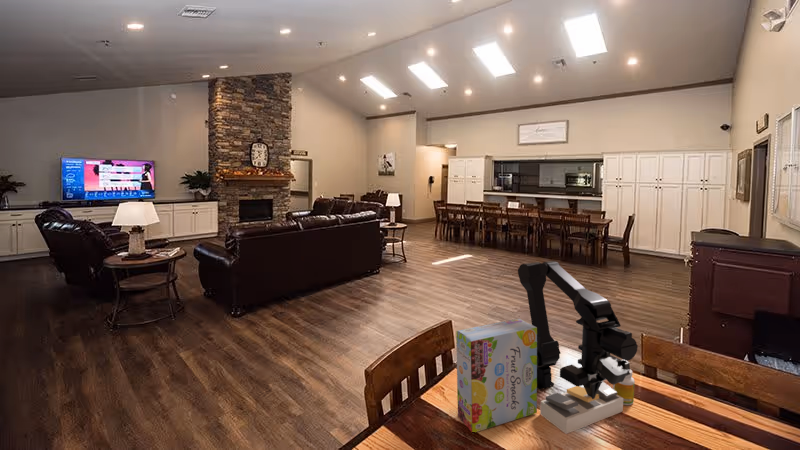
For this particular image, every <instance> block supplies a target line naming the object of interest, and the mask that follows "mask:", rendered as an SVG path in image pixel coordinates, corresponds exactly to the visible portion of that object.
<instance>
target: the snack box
mask: <svg viewBox="0 0 800 450" xmlns="http://www.w3.org/2000/svg"><path fill="white" fill-rule="evenodd" d="M455 333H456V334H455V335H456V337H455V338H456V375H457V376H456V382H457V383H456V384H457V389H456V390H457V393H456V394H457V418H459V419H460V421H461V422H462V423H463V424H464V425H465V427H467V428H468V430H469V431H470V432H471V433H472V432H475V433H477V431H478V432H480V430H481V431H484V430H487V429H490V428H492V427H496V426H500V425H502V424H506V423H508V422H509V423H510V422H512V421H515V420H518V419H522V418H525V417H528V416H531V415H535V414H538V392H537V391H538V388H537V327H535V326H533V325H532V323H528V322H527V321H526V320H525V321H524V320H523V319H521V318H516V319H511V320H506V321H504V320H503V321H499V322H496V323H489V324H485V325H479V326H474V327H470V328H465V329H464V328H463V329H460V330H456V331H455Z"/></svg>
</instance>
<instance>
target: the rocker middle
mask: <svg viewBox="0 0 800 450" xmlns="http://www.w3.org/2000/svg"><path fill="white" fill-rule="evenodd" d="M582 387H583V386H575V385H574V386H572V387H569V388H567V389H566V392H567V393H568V394H571V395H573V396H575V397H577V398H579V399H581V400H584V401H586V402H590V401H593V400H596V399H599V395H598V394H596V396H595V398H594V399H592V397H590V396H588V395H587V392H586V390H585V389H584V388H582Z"/></svg>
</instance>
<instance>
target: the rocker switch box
mask: <svg viewBox="0 0 800 450" xmlns="http://www.w3.org/2000/svg"><path fill="white" fill-rule="evenodd" d="M581 387H582V388H584V386H581ZM584 389H585V388H584ZM560 394H561V395H564V396H566V397H568V398H570V399H573V400H575V401H577V402H578V406H576V407H573V408H570V409H567V410H565V409H563V408H561V407H559V406H557V405H555V404H553V403H551V402H549V401H547V400H546V399H543V400H540V409H539V410H540V411H539V414H540V415H541V416H542V417H543V418H545V420H547V421H548V422H550V423H551V424H553V425H554V426H555V427H556V428H558V429H559V430H560V431H561V432H563V433H564V434H566V435H568V434H569V433H572V432H574V431H577V430H580V429H581V428H584V427H588V426H590V425H592V424H595V423H597V422H600V421H601V420H602V421H603V420H604V419H607V418H610V417H612V416H615V415H617V414H620V413H622V412H623V409H624V405H623V398H622V397H620V396H618V395H615V396H613V397H610V398H607V399H606V398H604V397H603V396H602V395H600V394H599V393H598V392H597V394H598V395H599V399H596V400H593V401H590V402H586V401H584V400H581V399H579V398H577V397H575V396H573V395H571V394H568V393H567V391H566V392H564V393H560Z"/></svg>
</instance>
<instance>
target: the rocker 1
mask: <svg viewBox="0 0 800 450" xmlns="http://www.w3.org/2000/svg"><path fill="white" fill-rule="evenodd" d="M561 394H562V393H558V392H555V393H552V394H549V395H547V396H545V400H547V401H549V402H551V403H553V404H555V405H557V406H559V407H561V408H563V409H565V410H567V409H570V408H573V407H576V406H578V402H577V401H575V400H573V399H570V398H568V397H566V396H564V395H561Z"/></svg>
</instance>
